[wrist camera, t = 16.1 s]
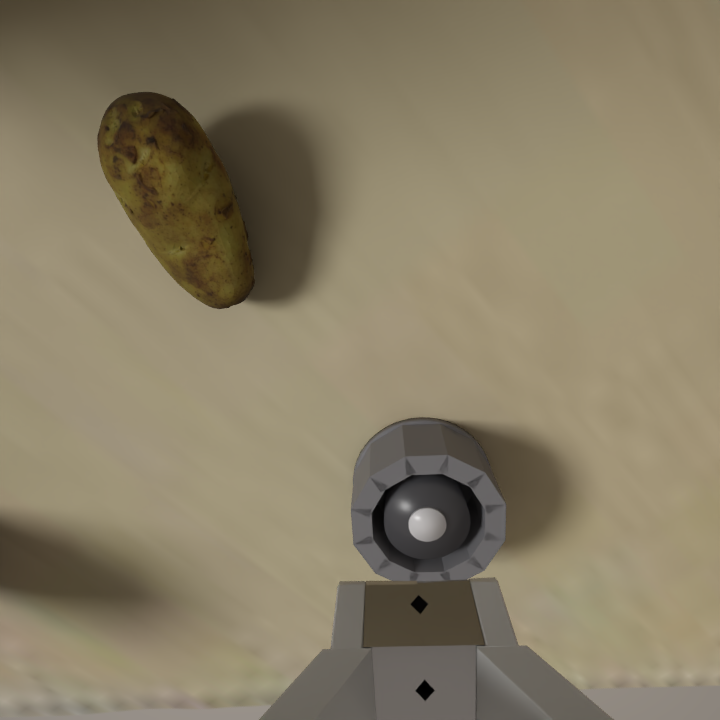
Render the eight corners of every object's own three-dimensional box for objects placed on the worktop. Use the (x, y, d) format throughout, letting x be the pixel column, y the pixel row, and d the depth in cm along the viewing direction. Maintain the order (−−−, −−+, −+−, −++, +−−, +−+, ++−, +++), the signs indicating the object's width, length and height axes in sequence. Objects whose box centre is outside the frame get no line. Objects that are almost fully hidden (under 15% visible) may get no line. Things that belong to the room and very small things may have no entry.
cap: (382, 452, 40) (382, 488, 35) (459, 450, 40) (471, 486, 35) (384, 519, 42) (385, 563, 37) (459, 518, 42) (470, 561, 37)
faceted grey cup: (349, 420, 40) (343, 456, 35) (491, 414, 40) (510, 449, 34) (357, 541, 44) (354, 592, 38) (489, 537, 43) (506, 588, 37)
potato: (152, 300, 38) (96, 323, 31) (133, 109, 35) (63, 81, 27) (264, 302, 38) (235, 326, 30) (256, 110, 34) (221, 82, 27)
